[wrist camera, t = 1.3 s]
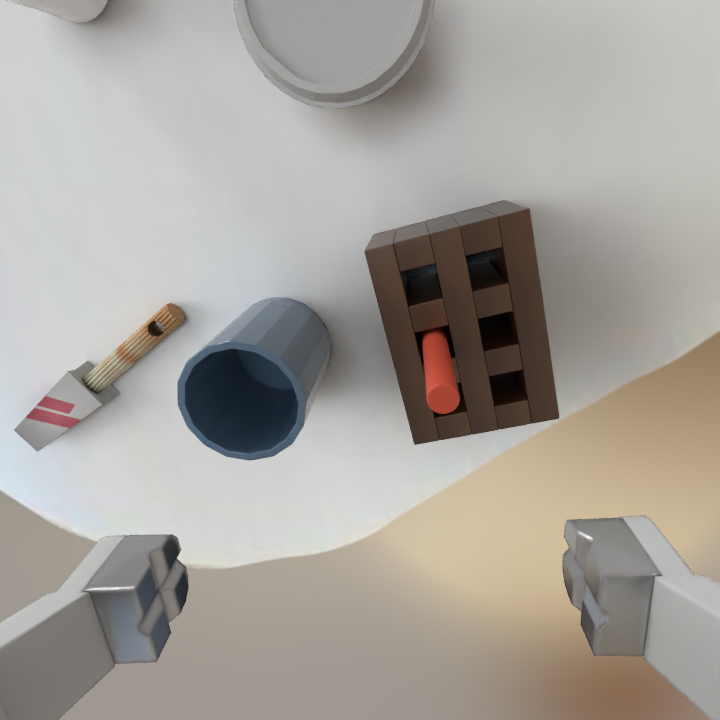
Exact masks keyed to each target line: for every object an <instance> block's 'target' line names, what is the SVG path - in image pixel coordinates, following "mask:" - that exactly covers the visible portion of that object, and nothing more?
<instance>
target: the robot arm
mask: <svg viewBox="0 0 720 720" xmlns="http://www.w3.org/2000/svg"><path fill="white" fill-rule="evenodd" d="M564 537H565V539H566V542H567V544H568V546H569V548H568V550H567V551H566V552H565V553H564V554H563V575H564V582H565V586H566V589H567V593H568V596H569V598H570V601H571V603H572V605H573V606H575V607H576V608H577V609H578V610H580V611H581V626H582V629H583V631H584V633H585V635H586V638H587V640H588V642H589V645H590V647H591V649H592V651H593V654H594V655H595V656H644V658H643V659H644V660H645V661H646V662H648V663H649V664H650V665H651V666H652V667H653V668H654V669H655V670H657V671H658V672H659V673H660V674H661V675H662V676H663V677H664V678H665V679H667V680H668V681H669V682H670V683H671V684H672V685H673V686H674V687H675V688H677V689H678V690H679V691H680V692H681V693H682V694H684V695H685V696H686V697H687V698H688V699H689V700H690V701H691V702H692V703H693V704H694V705H696V706H697V707H698V708H699V709H700V710H701V711H702V712H703V713H704V714H706V715H707V716H708V717H709V718H710V719H711V720H720V584H719V583H717V582H715V581H713V580H711V579H709V578H708V577H706V576H704V575H695V574H694V573H693V572H692V571H691V569H690V568H689V567H688V565H687V564H686V563H685V562H684V560H683V559H682V558H681V557H680V555H679V554H678V553H677V551H676V550H675V549H674V548H673V546H672V545H671V544H670V543H669V541H668V540H667V539H666V538H665V536H664V535H663V534H662V532H661V531H660V530H659V529H658V527H657V526H656V525H655V523H654V522H653V521H652V520H651V518H649V517H647V516H645V515H641V516H625V517H618V518H601V519H600V518H599V519H577V520H567V521H566V524H565V530H564ZM180 551H181V548H180V545H179V541H178V538H177V537H176V536H174V535H129V536H126V535H122V536H106V537H104V538H102V539H100V540H99V541H98V543H97V544H96V545H95V547H94V548H93V549H92V550H91V551H90V552H89V554H88V555H87V556H86V557H85V559H84V560H83V561H82V562H81V563H80V565H79V566H78V567H77V569H76V570H75V571H74V572H73V573H72V575H71V576H70V577H69V578H68V579H67V581H66V582H65V583H64V584H63V586H62V587H61V588H60V589H59V590H58V592H57V593H49V594H47V595H45V596H44V597H43V598H41V599H39V600H37V601H36V602H34V603H33V604H31V605H29V606H27V607H26V608H24V609H22V610H21V611H19V612H17V613H16V614H14V615H12V616H11V617H9V618H7V619H6V620H4V621H2V622H1V623H0V720H58V719H60V718H61V717H62V716H63V715H64V714H65V713H66V712H67V711H68V710H69V709H70V708H71V707H72V706H73V705H74V704H76V703H77V702H78V701H79V700H80V699H81V698H82V697H83V696H84V695H85V694H86V693H87V692H88V691H89V690H90V689H92V688H93V687H94V686H95V685H96V684H97V683H98V682H99V681H100V680H101V679H102V678H103V677H104V676H105V675H106V674H107V673H109V672H110V671H111V670H112V669H113V668H114V667H115V664H125V663H146V662H157V660H158V658H159V656H160V654H161V652H162V650H163V648H164V646H165V644H166V642H167V639H168V637H169V635H170V634H171V631H170V627H169V624H168V623H169V622H171V621H172V620H173V619H174V618H175V617H177V616H178V615H179V614H180V613H181V611H182V609H183V606H184V604H185V602H186V597H187V591H188V575H187V570H186V567H185V566H184V565H183V564H182V563H181V562H180V561H179V560H178V559H177V556H178V555H179V553H180Z"/></svg>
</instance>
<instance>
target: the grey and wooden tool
mask: <svg viewBox="0 0 720 720" xmlns="http://www.w3.org/2000/svg"><path fill="white" fill-rule="evenodd" d="M184 319H185V318H184V315H183V312H182V311H181V310H180V309H179V308H178V307H177V306H175V305H174V304H171V303H169V304H166V305H165V306H164V307H163V308H162V309H161V310H160V311H158V312H157V313H156V314H155V315H154V316H153V317H152V318H151V319H149V320H148V321H147V322H146V323H145V324H144V325H143V326H142V327H140V328H139V329H138V330H137V331H136V332H135V333H134V334H133V335H132V336H130V337H129V338H128V339H127V340H126V341H125V342H124V343H123V344H121V345H120V346H119V347H118V348H117V349H116V350H115V351H113V352H112V353H111V354H110V355H109V356H108V357H107V358H105V359H104V360H103V361H102V362H101V363H100V364H99V365H97V366H96V367H95V368H94V367H93V366H92V365H91V364H90V363H89V362H88V361H87V362H86V363H84V364H83V365H81V366H80V367H79V368H77V369H76V370H73V371H68V372H67V373H66V374H65V375H64V376H63V377H62V379H61V380H60V381H59V382H58V383H57V384H56V385H55V386H54V387H53V388H52V389H51V390H50V392H49V393H48V394H47V395H46V396H45V397H44V398H43V399H42V400H41V401H40V402H39V403H38V405H37V406H36V407H35V408H34V409H33V410H32V411H31V412H30V413H29V414H28V415H27V416H26V418H25V419H24V420H23V421H22V422H21V423H20V424H19V425H18V426H17V427H16V428H15V429H14V431H15V432H17V433H18V434H19V435H20V436H21V437H22V438H23V439H24V440H25V441H26V442H28V443H29V444H30V445H31V446H32V447H33V448H34V449H35V450H36V451H37V452H38V451H39V450H41V449H42V448H43V447H45V446H46V445H48V444H49V443H50V442H52V441H53V440H54V439H56V438H57V437H59V436H60V435H61V434H63V433H64V432H66V431H67V430H68V429H70V428H71V427H72V426H74V425H75V424H77V423H78V422H79V421H81V420H82V419H84V418H85V417H86V416H88V415H89V414H90V413H92V412H93V411H95V410H96V409H97V408H99V407H100V406H102V405H103V404H104V403H106V402H107V401H108V400H110V399H111V398H113V397H114V396H115V395H117V394H118V393H119V392H118V391H117V390H116V389H115V388H114V387H113V386H112V385H111V383H112V382H113V381H114V380H116V379H117V378H118V377H119V376H120V375H121V374H123V373H124V372H125V371H126V370H127V369H128V368H130V367H131V366H132V365H133V364H134V363H135V362H136V361H138V360H139V359H140V358H141V357H142V356H143V355H145V354H146V353H147V352H148V351H149V350H150V349H152V348H153V347H154V346H155V345H156V344H158V343H159V342H160V341H161V340H162V339H164V338H165V337H166V336H167V335H168V334H170V333H171V332H172V331H173V330H174V329H175V328H177V327H178V326H179V325H180V324H181V323H183V322H184ZM155 321H158V322H159V323H161V325H162V326H163V327H164V330H165V332H163V331H161V330H160V329H158V326H156V322H155Z"/></svg>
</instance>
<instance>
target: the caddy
mask: <svg viewBox="0 0 720 720" xmlns="http://www.w3.org/2000/svg"><path fill="white" fill-rule="evenodd" d="M484 251H487V252H488V258H489V261H484V262H480V263H476V264H472V265H468V266H467V261H466V256H468V255H472V254H476V253H480V252H484ZM365 255H366V259H367V263H368V267H369V271H370V275H371V279H372V282H373V286H374V290H375V294H376V298H377V302H378V306H379V309H380V313H381V317H382V321H383V325H384V329H385V333H386V336H387V340H388V344H389V348H390V352H391V356H392V360H393V364H394V367H395V371H396V375H397V379H398V383H399V387H400V391H401V394H402V398H403V402H404V406H405V410H406V414H407V418H408V421H409V425H410V429H411V433H412V437H413V441H414V444H415V445H416V444H421V443H427V442H433V441H438V440H444V439H450V438H455V437H461V436H466V435H471V434H478V433H483V432H489V431H494V430H498V429H504V428H510V427H515V426H521V425H526V424H531V423H537V422H542V421H548V420H553V419H559V411H558V404H557V397H556V390H555V383H554V376H553V369H552V362H551V355H550V348H549V341H548V334H547V327H546V320H545V313H544V306H543V299H542V292H541V285H540V278H539V271H538V264H537V257H536V250H535V243H534V236H533V229H532V222H531V215H530V209H529V208H526V207H523V206H520V205H517V204H513V203H510V202H507V201H504V200H503V201H499V202H495V203H492V204H488V205H484V206H481V207H476V208H472V209H469V210H465V211H461V212H457V213H453V214H450V215H446V216H442V217H438V218H434V219H430V220H426V221H423V222H419V223H415V224H411V225H408V226H404V227H400V228H397V230H396V229H392V230H389V231H385V232H381V233H377V234H374V235H373V236H372V238H371V240H370V242H369V244H368V246H367V248H366V249H365ZM465 255H466V256H465ZM431 264H435V269H436V273H435V274H431V275H427V276H422V277H418V278H414V279H410V280H409V281H408V277H407V272H406V271H407V270H411V269H415V268H419V267H423V266H427V265H431ZM443 326H444V329H445V333H446V338H447V342H448V347H449V351H450V356H451V360H452V365H453V369H454V373H455V378H456V382H457V387H458V391H459V396H460V402H459V405H458V406H457V408H456V409H455V410H453V411H452V412H450V413H447V414H440V413H436V412H434V411H433V410H432V409H431V408H430V407H429V406H428V403H427V395H426V383H425V370H424V358H423V345H422V332H421V331H425V330H429V329H434V328H438V327H443Z"/></svg>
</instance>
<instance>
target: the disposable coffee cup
mask: <svg viewBox="0 0 720 720" xmlns="http://www.w3.org/2000/svg"><path fill="white" fill-rule="evenodd" d="M434 2H435V0H234V10H235V14H236V18H237V22H238V27H239V30H240V33H241V35H242V38H243V40H244V43H245V45H246V48H247V50H248V52H249V53H250V55H251V57H252V58H253V60H254V61H255V63H256V65H257V66H258V68H259V69H260V70H261V71H262V73H263V74H264V75H265V76H266V77H267V78H268V80H270V81H271V82H272V83H273V84H274V85H275V86H276V87H278V88H279V89H280V90H281V91H282V92H284V93H286V94H287V95H289V96H291V97H292V98H294V99H296V100H298V101H301V102H303V103H305V104H308V105H312V106H317V107H321V108H337V109H338V108H346V107H352V106H356V105H359V104H362V103H365V102H367V101H370V100H372V99H374V98H376V97H377V96H379V95H380V94H382V93H383V92H385V91H386V90H388V89H389V88H391V87H392V86H393V85H394V84H395V83H396V82H397V81H398V80H399V79H400V78H401V77H402V76H403V75H404V74H405V73H406V71H407V70H408V69H409V68H410V66H411V65H412V64H413V62H414V61H415V59H416V57H417V55H418V53H419V52H420V50H421V48H422V46H423V44H424V41H425V39H426V36H427V33H428V30H429V27H430V24H431V21H432V18H433V10H434Z"/></svg>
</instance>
